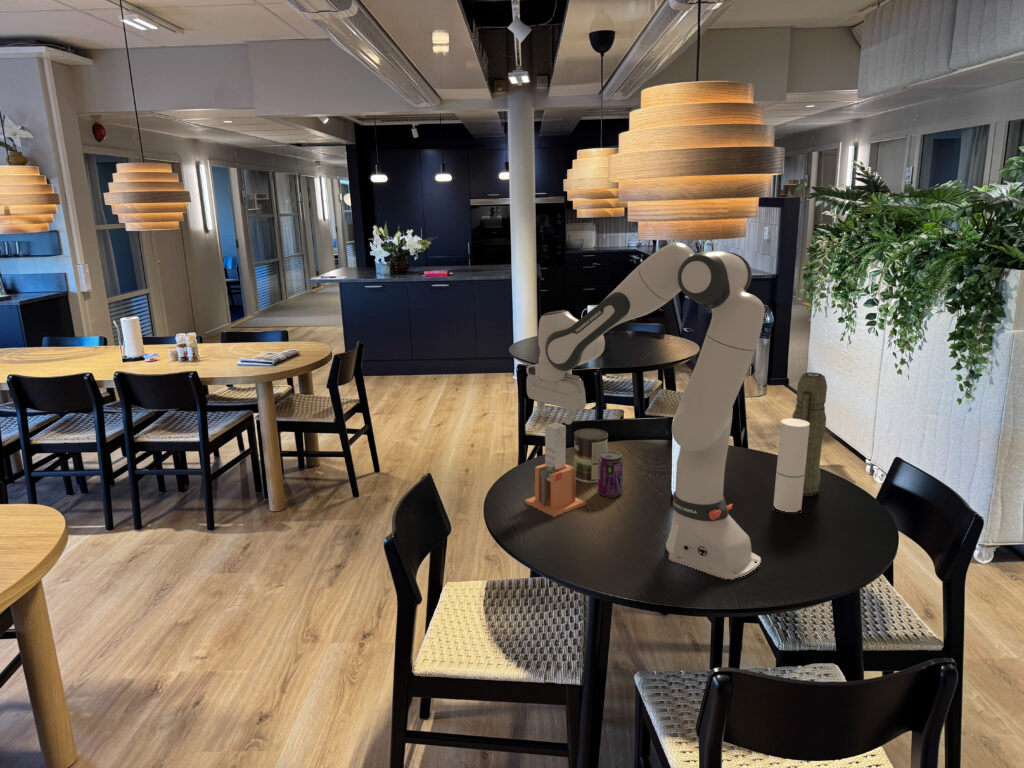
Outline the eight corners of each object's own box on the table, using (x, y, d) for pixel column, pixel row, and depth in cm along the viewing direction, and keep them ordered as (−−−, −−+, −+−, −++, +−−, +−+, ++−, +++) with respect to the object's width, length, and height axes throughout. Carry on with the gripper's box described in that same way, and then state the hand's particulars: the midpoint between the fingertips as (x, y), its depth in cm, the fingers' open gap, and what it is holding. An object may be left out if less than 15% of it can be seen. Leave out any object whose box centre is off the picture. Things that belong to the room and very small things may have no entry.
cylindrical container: (801, 506, 197) (810, 420, 190) (800, 516, 190) (808, 427, 184) (774, 502, 200) (782, 417, 193) (772, 512, 193) (779, 424, 187)
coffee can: (574, 483, 215) (574, 438, 211) (572, 470, 225) (573, 428, 221) (608, 483, 214) (609, 439, 211) (605, 470, 224) (606, 428, 221)
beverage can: (614, 500, 202) (615, 461, 199) (593, 494, 206) (593, 455, 203) (626, 492, 207) (627, 453, 204) (605, 487, 212) (606, 449, 209)
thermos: (821, 486, 210) (833, 371, 201) (814, 501, 200) (827, 380, 191) (790, 481, 214) (800, 368, 206) (782, 494, 205) (792, 376, 196)
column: (565, 480, 198) (566, 425, 194) (553, 484, 195) (553, 429, 191) (555, 476, 201) (555, 422, 197) (543, 480, 198) (543, 425, 194)
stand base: (585, 504, 199) (586, 467, 196) (553, 516, 192) (553, 478, 189) (556, 492, 208) (556, 456, 206) (525, 503, 201) (524, 465, 198)
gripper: (591, 374, 185) (591, 425, 188) (539, 363, 200) (540, 410, 203) (573, 379, 181) (574, 430, 184) (522, 366, 196) (523, 414, 200)
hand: (555, 419), depth 194 cm, fingers open, 8 cm apart
